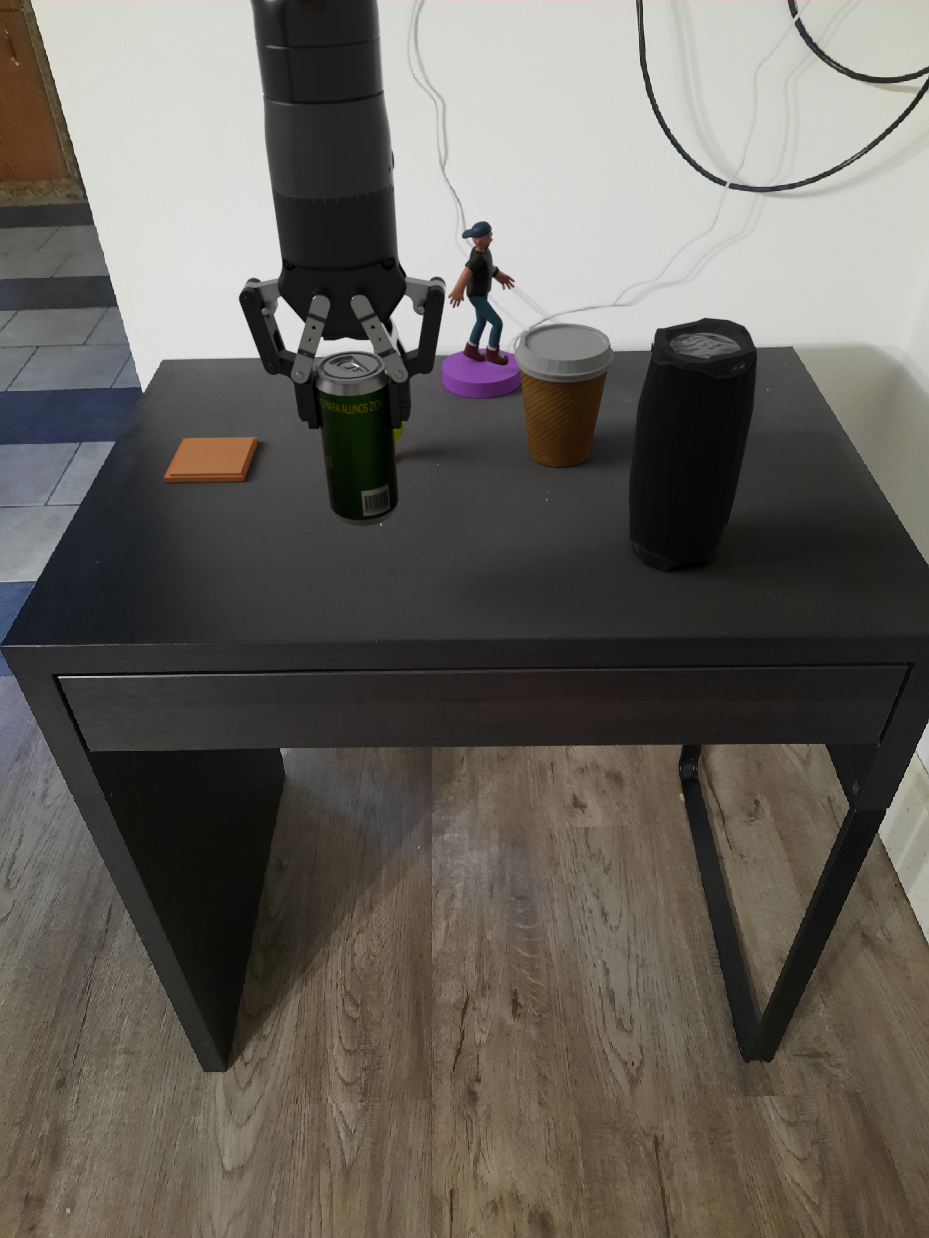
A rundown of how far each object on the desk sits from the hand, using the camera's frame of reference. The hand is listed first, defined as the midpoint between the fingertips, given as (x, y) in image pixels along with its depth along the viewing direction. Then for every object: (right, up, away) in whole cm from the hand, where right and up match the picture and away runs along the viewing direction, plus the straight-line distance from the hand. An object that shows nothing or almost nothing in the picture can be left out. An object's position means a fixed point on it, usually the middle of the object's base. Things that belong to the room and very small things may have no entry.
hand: (356, 423), depth 66 cm
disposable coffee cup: (+18, +3, +28) cm, 33 cm away
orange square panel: (-18, +2, +28) cm, 33 cm away
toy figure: (0, +2, +27) cm, 27 cm away
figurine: (+10, +14, +41) cm, 44 cm away
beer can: (0, -6, +5) cm, 8 cm away
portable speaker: (+27, -8, +14) cm, 31 cm away
